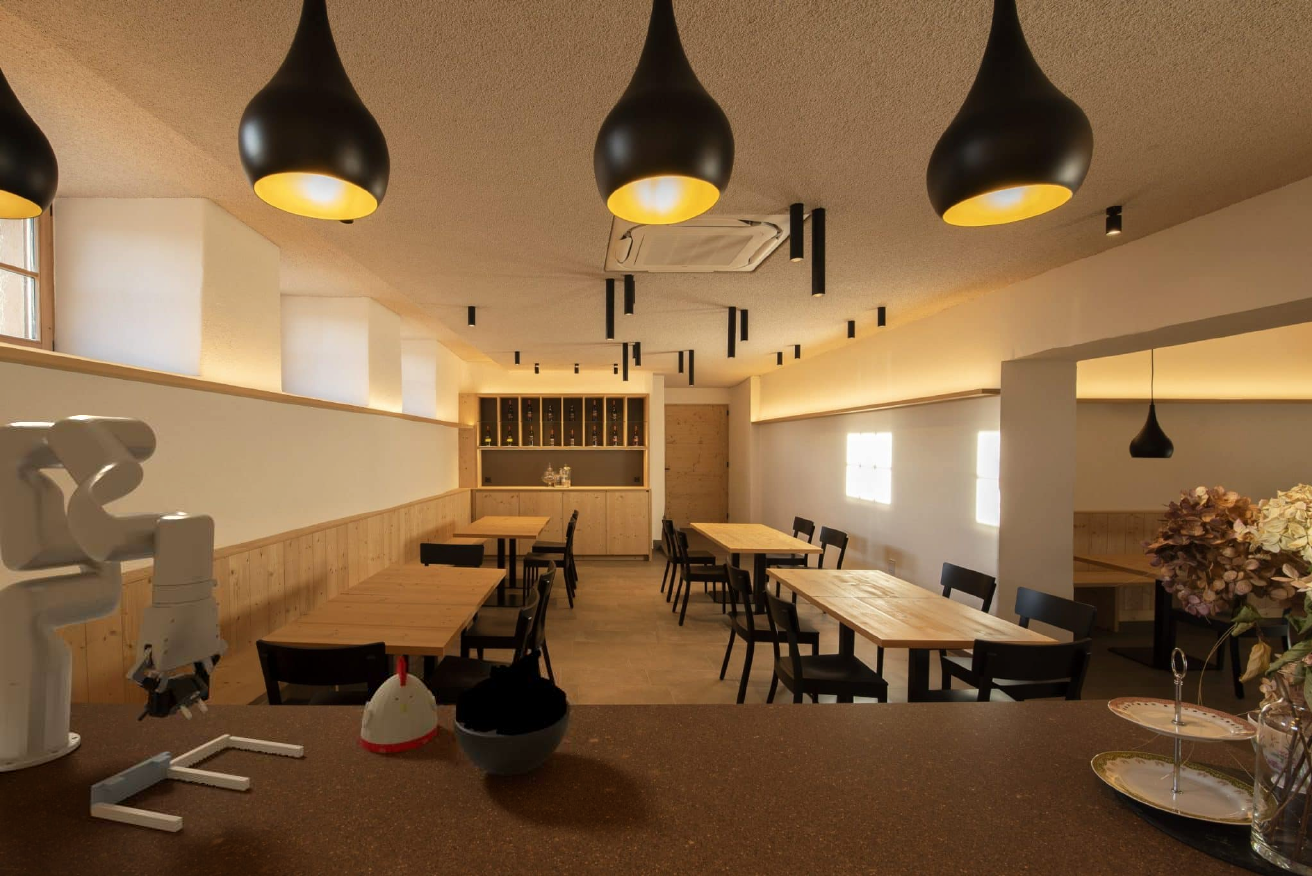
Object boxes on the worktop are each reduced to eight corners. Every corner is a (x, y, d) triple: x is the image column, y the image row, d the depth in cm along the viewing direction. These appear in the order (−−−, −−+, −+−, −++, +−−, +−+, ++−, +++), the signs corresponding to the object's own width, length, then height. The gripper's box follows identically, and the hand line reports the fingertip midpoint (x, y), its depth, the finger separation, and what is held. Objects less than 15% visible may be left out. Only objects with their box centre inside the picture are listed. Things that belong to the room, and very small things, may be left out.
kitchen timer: (362, 760, 107) (365, 675, 107) (357, 729, 119) (359, 653, 119) (443, 742, 114) (445, 663, 114) (431, 714, 126) (432, 643, 126)
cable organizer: (86, 814, 90) (87, 788, 90) (227, 743, 112) (228, 722, 112) (175, 832, 86) (175, 804, 86) (303, 754, 108) (303, 732, 108)
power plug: (155, 708, 98) (200, 660, 97) (180, 744, 97) (226, 696, 96) (118, 722, 93) (165, 671, 91) (143, 761, 91) (192, 710, 90)
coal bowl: (481, 817, 90) (483, 691, 91) (435, 763, 106) (437, 656, 106) (591, 773, 103) (593, 663, 104) (536, 731, 118) (537, 636, 119)
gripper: (215, 580, 104) (212, 685, 103) (104, 604, 87) (99, 729, 86) (250, 582, 102) (247, 689, 101) (143, 607, 85) (139, 735, 85)
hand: (179, 706), depth 94 cm, fingers closed on power plug, 5 cm apart
